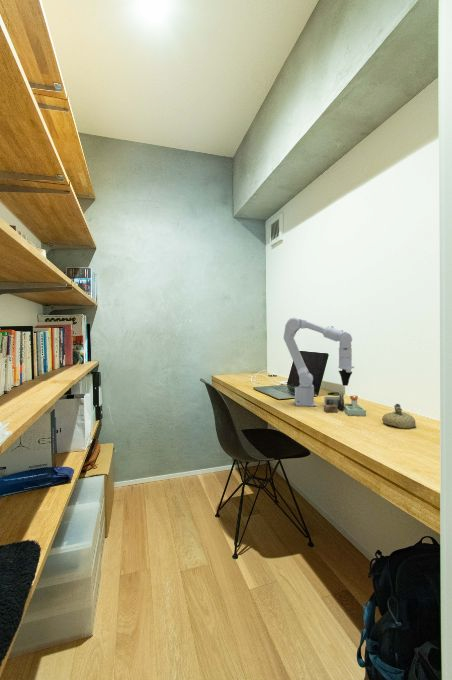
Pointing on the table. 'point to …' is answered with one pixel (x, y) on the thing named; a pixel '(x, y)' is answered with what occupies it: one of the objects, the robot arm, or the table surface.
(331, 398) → the cart
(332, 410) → the brown rectangular block
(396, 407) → the acorn cap
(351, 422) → the table surface
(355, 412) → the tray
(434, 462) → the table surface
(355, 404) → the pin
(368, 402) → the table surface
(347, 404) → the grey square frame
